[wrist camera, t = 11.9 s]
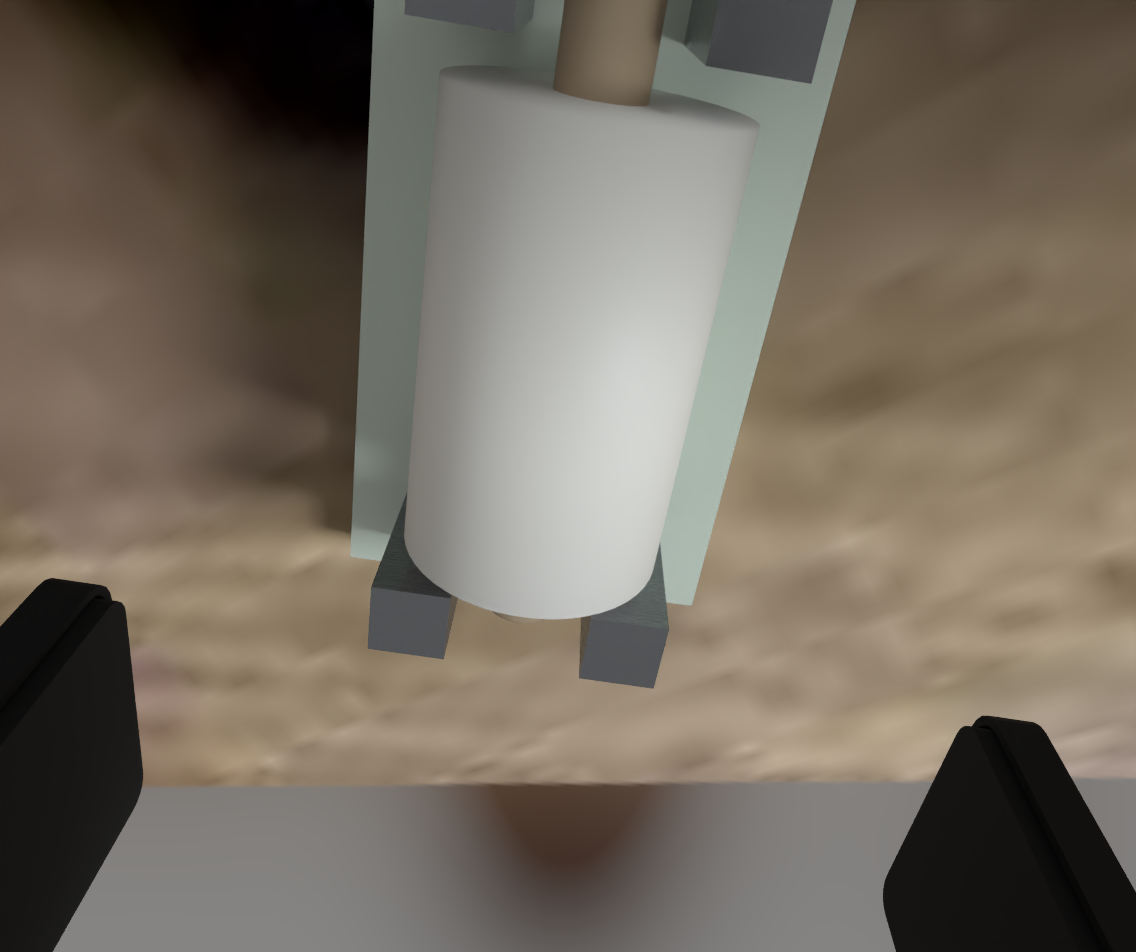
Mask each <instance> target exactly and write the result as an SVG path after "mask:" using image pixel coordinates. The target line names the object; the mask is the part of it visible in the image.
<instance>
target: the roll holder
mask: <svg viewBox="0 0 1136 952" xmlns="http://www.w3.org/2000/svg"><path fill="white" fill-rule="evenodd" d="M564 1H565V0H374V21H373V45H372V68H371V91H370V114H369V137H368V161H367V184H366V207H365V230H364V253H363V276H362V300H361V323H360V346H359V369H358V392H357V416H356V439H355V462H354V485H353V508H352V532H351V555H350V557H356V558H363V559H370V560H377V561H381V563H380V565H379V568H378V571H377V573H376V576H375V579H374V581H373V584H372V587H371V600H370V618H369V635H368V649H374V650H382V651H389V652H396V653H403V654H410V655H417V656H424V657H432V658H439V659H444V656H445V651H446V647H447V643H448V638H449V634H450V630H451V625H452V621H453V617H454V612H455V608H456V604H457V599H458V598H457V597H455V596H453V595H451V594H450V593H448V592H446V591H445V590H443V589H442V588H440V587H439V586H437V585H436V584H434V583H433V582H432V581H431V580H430V579H428V578H427V577H426V576H425V575H424V574H423V573H422V572H421V571H420V570H419V569H418V567H417V566H416V565H415V564H414V562H413V560H412V559H411V557H410V556H409V553H408V551H407V548H406V546H405V539H404V530H405V516H406V503H407V490H408V477H409V464H410V451H411V438H412V425H413V412H414V399H415V386H416V373H417V360H418V347H419V334H420V321H421V308H422V295H423V282H424V269H425V256H426V243H427V230H428V217H429V204H430V191H431V178H432V165H433V152H434V139H435V125H436V112H437V99H438V86H439V73H440V70H441V69H443V68H446V67H451V66H463V65H481V66H501V67H513V68H524V69H534V70H542V71H550V72H555V68H556V61H557V53H558V46H559V38H560V31H561V23H562V16H563V8H564ZM855 3H856V0H668V2H667V8H666V13H665V19H664V24H663V30H662V35H661V41H660V46H659V52H658V57H657V63H656V68H655V74H654V79H653V85H652V89H656V90H660V91H665V92H669V93H674V94H678V95H682V96H686V97H690V98H694V99H698V100H701V101H705V102H709V103H712V104H716V105H719V106H722V107H725V108H728V109H731V110H734V111H737V112H739V113H742V114H744V115H746V116H749V117H751V118H752V119H754V120H756V121H757V122H758V123H759V125H760V128H759V132H758V136H757V141H756V145H755V149H754V153H753V157H752V161H751V166H750V170H749V174H748V178H747V182H746V186H745V190H744V195H743V199H742V203H741V207H740V211H739V215H738V220H737V224H736V228H735V232H734V236H733V240H732V244H731V249H730V253H729V257H728V261H727V265H726V269H725V274H724V278H723V282H722V286H721V290H720V294H719V299H718V303H717V307H716V311H715V315H714V319H713V323H712V328H711V332H710V336H709V340H708V344H707V348H706V353H705V357H704V361H703V365H702V369H701V373H700V377H699V382H698V386H697V390H696V394H695V398H694V402H693V407H692V411H691V415H690V419H689V423H688V427H687V431H686V436H685V440H684V444H683V448H682V452H681V456H680V461H679V465H678V469H677V473H676V477H675V481H674V485H673V490H672V494H671V498H670V502H669V506H668V510H667V515H666V519H665V523H664V527H663V531H662V535H661V540H660V544H659V548H658V552H657V556H656V560H655V564H654V569H653V572H652V575H651V577H650V580H649V581H648V583H647V584H646V586H645V587H644V588H643V589H642V590H641V591H640V592H639V593H638V594H637V595H636V596H635V597H633V598H632V599H630V600H629V601H628V602H626V603H624V604H622V605H620V606H618V607H616V608H614V609H611V610H608V611H605V612H602V613H599V614H594V615H590V616H586V617H581V636H580V665H579V678H582V679H589V680H596V681H603V682H610V683H618V684H625V685H632V686H639V687H646V688H654V685H655V681H656V677H657V673H658V669H659V665H660V662H661V658H662V654H663V650H664V646H665V642H666V639H667V635H668V631H669V626H668V616H667V606H666V602H668V603H675V604H682V605H689V606H692V602H693V598H694V595H695V591H696V587H697V584H698V580H699V576H700V573H701V569H702V565H703V562H704V558H705V554H706V551H707V547H708V543H709V540H710V536H711V532H712V528H713V525H714V521H715V517H716V514H717V510H718V506H719V503H720V499H721V495H722V492H723V488H724V484H725V481H726V477H727V473H728V470H729V466H730V462H731V459H732V455H733V451H734V448H735V444H736V440H737V437H738V433H739V429H740V426H741V422H742V418H743V414H744V411H745V407H746V403H747V400H748V396H749V392H750V389H751V385H752V381H753V378H754V374H755V370H756V367H757V363H758V359H759V356H760V352H761V348H762V345H763V341H764V337H765V334H766V330H767V326H768V323H769V319H770V315H771V312H772V308H773V304H774V301H775V297H776V293H777V289H778V286H779V282H780V278H781V275H782V271H783V267H784V264H785V260H786V256H787V253H788V249H789V245H790V242H791V238H792V234H793V231H794V227H795V223H796V220H797V216H798V212H799V209H800V205H801V201H802V198H803V194H804V190H805V187H806V183H807V179H808V176H809V172H810V168H811V164H812V161H813V157H814V153H815V150H816V146H817V142H818V139H819V135H820V131H821V128H822V124H823V120H824V117H825V113H826V109H827V106H828V102H829V98H830V95H831V91H832V87H833V84H834V80H835V76H836V73H837V69H838V65H839V62H840V58H841V54H842V51H843V47H844V43H845V39H846V36H847V32H848V28H849V25H850V21H851V17H852V14H853V10H854V6H855Z"/></svg>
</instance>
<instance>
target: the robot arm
mask: <svg viewBox="0 0 1136 952" xmlns="http://www.w3.org/2000/svg"><path fill="white" fill-rule="evenodd" d="M142 782H143V767H142V757H141V748H140V739H139V730H138V720H137V711H136V702H135V693H134V683H133V674H132V665H131V656H130V646H129V637H128V628H127V619H126V611H125V607H124V605H123V604H122V603H121V602H118V601H112V598H111V594H110V592H109V590H108V589H107V587H105V586H102V585H96V584H89V583H82V582H75V581H68V580H62V579H55V578H50V579H47V580H45V581H43V582H42V583H41V584H40V585H38V586H37V588H36V589H35V590H34V591H33V592H32V593H31V594H30V595H29V596H28V597H27V598H26V599H25V600H24V602H23V603H22V604H21V605H20V606H19V607H18V608H17V609H16V610H15V611H14V612H13V613H12V614H11V616H10V617H9V618H8V619H7V620H6V621H5V622H4V623H3V624H2V625H1V626H0V952H53V950H54V948H55V947H56V945H57V943H58V941H59V940H60V938H61V936H62V934H63V933H64V931H65V929H66V927H67V925H68V924H69V922H70V920H71V918H72V916H73V915H74V913H75V911H76V910H77V908H78V906H79V904H80V903H81V901H82V899H83V897H84V896H85V894H86V892H87V890H88V889H89V887H90V885H91V883H92V882H93V880H94V878H95V876H96V875H97V873H98V871H99V869H100V867H101V866H102V864H103V862H104V860H105V859H106V857H107V855H108V853H109V852H110V850H111V848H112V846H113V845H114V843H115V841H116V839H117V837H118V836H119V834H120V832H121V831H122V829H123V827H124V825H125V824H126V822H127V820H128V818H129V816H130V815H131V813H132V811H133V809H134V807H135V805H136V803H137V801H138V798H139V795H140V792H141V788H142ZM883 903H884V910H885V915H886V918H887V922H888V925H889V928H890V932H891V935H892V939H893V943H894V946H895V949H896V952H1136V892H1135V890H1134V888H1133V886H1132V885H1131V883H1130V881H1129V879H1128V878H1127V876H1126V874H1125V872H1124V870H1123V869H1122V867H1121V865H1120V863H1119V862H1118V860H1117V858H1116V856H1115V855H1114V853H1113V851H1112V849H1111V847H1110V846H1109V844H1108V842H1107V840H1106V839H1105V837H1104V835H1103V833H1102V832H1101V830H1100V828H1099V826H1098V825H1097V823H1096V821H1095V819H1094V817H1093V815H1092V814H1091V812H1090V810H1089V808H1088V807H1087V805H1086V803H1085V801H1084V800H1083V798H1082V796H1081V794H1080V793H1079V791H1078V789H1077V787H1076V785H1075V784H1074V782H1073V780H1072V778H1071V776H1070V775H1069V773H1068V771H1067V769H1066V768H1065V766H1064V764H1063V762H1062V761H1061V759H1060V757H1059V755H1058V753H1057V752H1056V750H1055V748H1054V746H1053V745H1052V743H1051V741H1050V739H1049V737H1048V736H1047V734H1046V733H1045V731H1044V730H1043V729H1042V727H1041V726H1039V725H1038V724H1036V723H1034V722H1027V721H1020V720H1014V719H1007V718H1000V717H993V716H981V717H980V718H978V719H977V720H976V721H975V723H974V724H973V725H972V727H971V726H964V727H962V728H961V729H960V730H959V732H958V733H957V735H956V737H955V739H954V741H953V743H952V745H951V747H950V749H949V751H948V753H947V755H946V757H945V759H944V761H943V763H942V765H941V767H940V769H939V771H938V773H937V775H936V777H935V779H934V781H933V783H932V785H931V787H930V789H929V791H928V794H927V795H926V797H925V799H924V802H923V804H922V805H921V807H920V810H919V812H918V814H917V816H916V818H915V820H914V822H913V824H912V826H911V828H910V830H909V832H908V834H907V836H906V838H905V840H904V842H903V844H902V846H901V848H900V850H899V852H898V854H897V856H896V858H895V860H894V862H893V864H892V866H891V868H890V870H889V872H888V875H887V877H886V879H885V883H884V889H883Z"/></svg>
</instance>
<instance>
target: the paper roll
mask: <svg viewBox="0 0 1136 952" xmlns="http://www.w3.org/2000/svg"><path fill="white" fill-rule="evenodd" d="M667 2H668V0H565V1H564V8H563V16H562V23H561V31H560V38H559V46H558V53H557V61H556V68H555V72H550V71H542V70H534V69H524V68H513V67H501V66H481V65H463V66H451V67H446V68H443V69H441V70H440V73H439V86H438V99H437V112H436V125H435V139H434V152H433V165H432V178H431V191H430V204H429V217H428V230H427V243H426V256H425V269H424V282H423V295H422V308H421V321H420V334H419V347H418V360H417V373H416V386H415V399H414V412H413V425H412V438H411V451H410V464H409V477H408V490H407V503H406V516H405V530H404V539H405V546H406V548H407V551H408V553H409V556H410V557H411V559H412V560H413V562H414V564H415V565H416V566H417V567H418V569H419V570H420V571H421V572H422V573H423V574H424V575H425V576H426V577H427V578H428V579H430V580H431V581H432V582H433V583H434V584H436V585H437V586H439V587H440V588H442V589H443V590H445V591H446V592H448V593H450V594H451V595H453V596H455V597H457V598H459V599H461V600H463V601H466V602H468V603H471V604H473V605H475V606H478V607H481V608H484V609H488V610H491V611H492V612H494V613H495V614H496V615H498V616H499V617H501V618H503V619H506V620H509V621H512V622H517V623H536V622H540V621H543V620H546V619H570V618H578V617H586V616H590V615H594V614H599V613H602V612H605V611H608V610H611V609H614V608H616V607H618V606H620V605H622V604H624V603H626V602H628V601H629V600H630V599H632V598H633V597H635V596H636V595H637V594H638V593H639V592H640V591H641V590H642V589H643V588H644V587H645V586H646V584H647V583H648V581H649V580H650V577H651V575H652V572H653V569H654V564H655V560H656V556H657V552H658V548H659V544H660V540H661V535H662V531H663V527H664V523H665V519H666V515H667V510H668V506H669V502H670V498H671V494H672V490H673V485H674V481H675V477H676V473H677V469H678V465H679V461H680V456H681V452H682V448H683V444H684V440H685V436H686V431H687V427H688V423H689V419H690V415H691V411H692V407H693V402H694V398H695V394H696V390H697V386H698V382H699V377H700V373H701V369H702V365H703V361H704V357H705V353H706V348H707V344H708V340H709V336H710V332H711V328H712V323H713V319H714V315H715V311H716V307H717V303H718V299H719V294H720V290H721V286H722V282H723V278H724V274H725V269H726V265H727V261H728V257H729V253H730V249H731V244H732V240H733V236H734V232H735V228H736V224H737V220H738V215H739V211H740V207H741V203H742V199H743V195H744V190H745V186H746V182H747V178H748V174H749V170H750V166H751V161H752V157H753V153H754V149H755V145H756V141H757V136H758V132H759V128H760V125H759V123H758V122H757V121H756V120H754V119H752V118H751V117H749V116H746V115H744V114H742V113H739V112H737V111H734V110H731V109H728V108H725V107H722V106H719V105H716V104H712V103H709V102H705V101H701V100H698V99H694V98H690V97H686V96H682V95H678V94H674V93H669V92H665V91H660V90H656V89H652V85H653V79H654V74H655V68H656V63H657V57H658V52H659V46H660V41H661V35H662V30H663V24H664V19H665V13H666V8H667Z"/></svg>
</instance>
